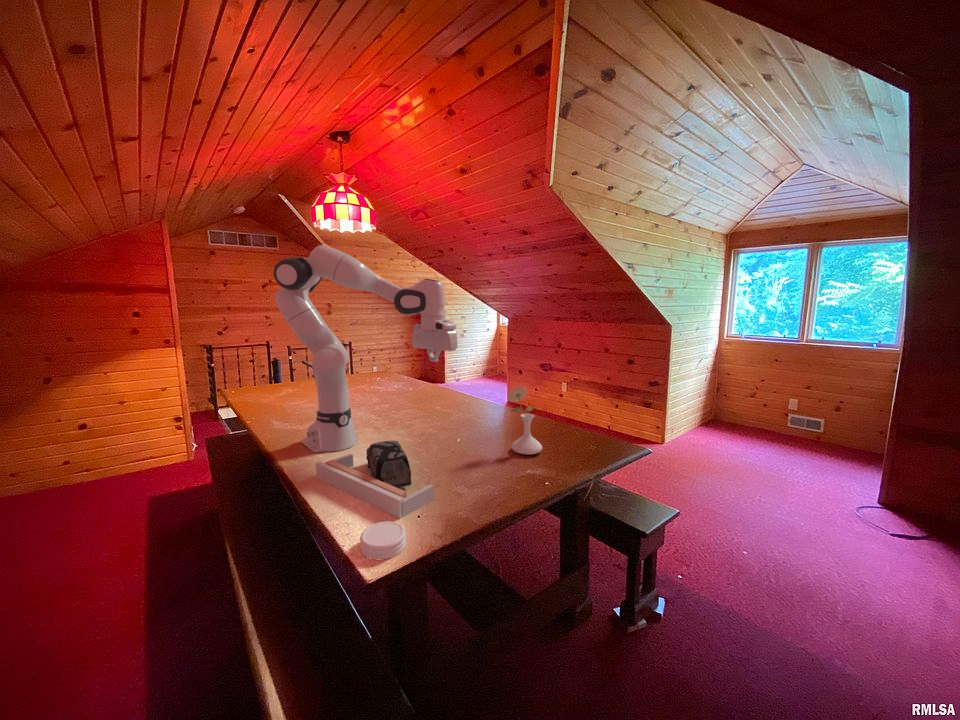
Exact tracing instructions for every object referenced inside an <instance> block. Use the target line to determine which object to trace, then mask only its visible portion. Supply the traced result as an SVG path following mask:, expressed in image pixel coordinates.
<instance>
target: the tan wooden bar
mask: <svg viewBox="0 0 960 720" xmlns="http://www.w3.org/2000/svg"><path fill="white" fill-rule="evenodd" d="M332 460H333V459H331V460H328V461H325V462H326V464H327V465H329V466H332V467H334V468H336V469H339V470H341V471H343V472H345V473H348V474H350V475H352V476H354V477H357V478H359V479H361V480H364V481H366V482H368V483H370V484H373V485H375V486H377V487H380V488H382V489H384V490H386V491H389V492H391V493H393V494H396V495H398V496H400V497H402V498H405V497H407V496H408V494H407V492H408V491H406V490H403V489H401V488H400V487H398V488H396V487H394V486H392V485H389V484H387V483H385V482H382V481H380V480H377V479H375V478H373V477H372V476H370V475H368V474H365V473H362V472H360V471H358V470H356V469H354V468H352V467H347V466H344V465H342V464H339V463H337V462H335V461H332Z"/></svg>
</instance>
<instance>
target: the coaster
mask: <svg viewBox="0 0 960 720" xmlns="http://www.w3.org/2000/svg"><path fill="white" fill-rule="evenodd" d="M406 534H407V532H406V529H405V527H404V526H403V525H402V524H400V523H398V522H395V521H380V522H376V523H374V524H371V525H369V526H367V528H365V529H364V530H363V531H362V533H361V534H360V535H359V536H360V537H359V541H360V543H359V545H360V552H361V554H362V555H363V556H364V557H365V556H366V557H368V558H367V559H369V558H371V559H370V560H372V559H385V560H388V558H389V559H392V558H394V557H396V556H397V555H399V554H401V553H402V552H403V551H404V550H405V547H406V545H407V539H406V538H407V536H406ZM366 557H365V558H366Z"/></svg>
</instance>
